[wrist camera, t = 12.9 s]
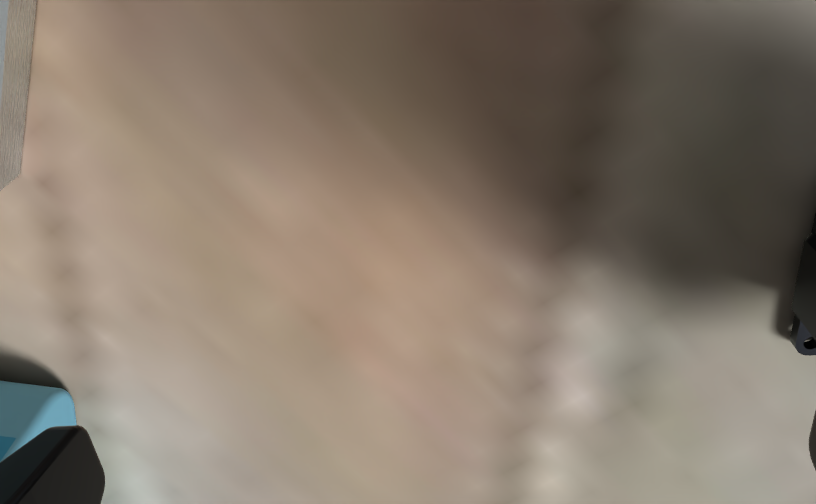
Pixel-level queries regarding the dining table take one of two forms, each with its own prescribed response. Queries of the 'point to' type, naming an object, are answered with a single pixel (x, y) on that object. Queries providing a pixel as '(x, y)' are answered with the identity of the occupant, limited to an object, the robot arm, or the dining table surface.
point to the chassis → (14, 81)
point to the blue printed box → (31, 413)
